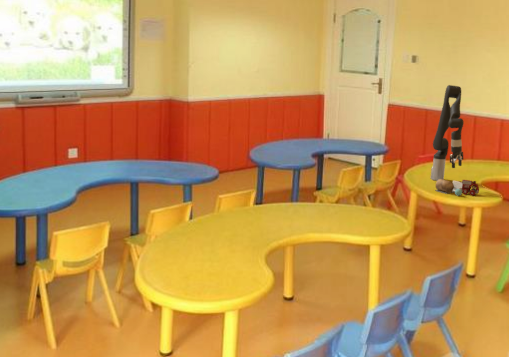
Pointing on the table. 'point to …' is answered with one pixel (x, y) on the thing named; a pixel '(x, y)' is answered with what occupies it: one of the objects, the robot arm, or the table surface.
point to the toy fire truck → (469, 187)
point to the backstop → (457, 185)
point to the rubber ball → (458, 192)
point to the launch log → (444, 185)
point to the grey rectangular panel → (446, 192)
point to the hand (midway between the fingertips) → (456, 166)
